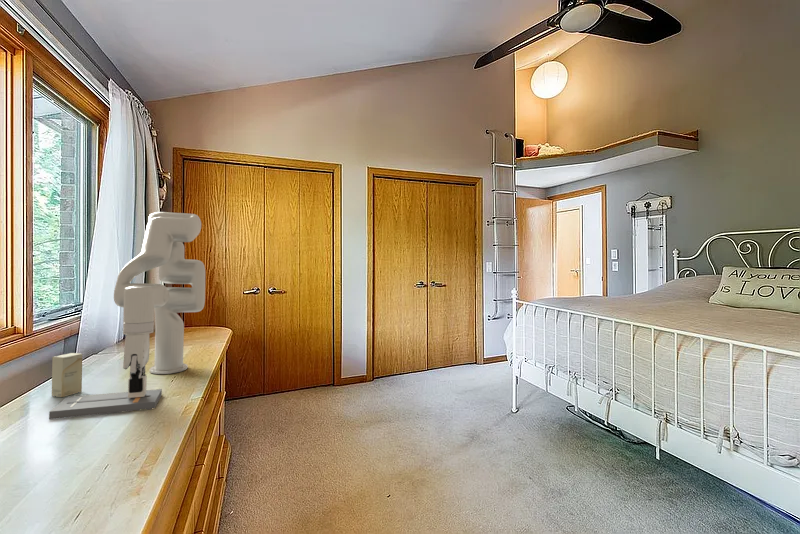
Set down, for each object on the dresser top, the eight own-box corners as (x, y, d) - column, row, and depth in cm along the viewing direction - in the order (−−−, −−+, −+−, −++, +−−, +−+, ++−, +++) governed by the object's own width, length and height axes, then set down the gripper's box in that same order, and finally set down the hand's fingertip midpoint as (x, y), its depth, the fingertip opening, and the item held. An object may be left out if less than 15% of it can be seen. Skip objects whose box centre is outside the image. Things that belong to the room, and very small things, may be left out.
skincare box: (62, 397, 122) (63, 357, 121) (50, 396, 122) (51, 356, 122) (82, 391, 128) (83, 353, 128) (71, 390, 129) (71, 352, 128)
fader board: (66, 403, 117) (66, 396, 117) (161, 395, 126) (161, 388, 126) (49, 419, 106) (49, 411, 106) (154, 408, 115) (154, 401, 115)
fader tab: (130, 394, 119) (130, 376, 119) (146, 393, 121) (146, 375, 121) (128, 398, 116) (128, 379, 116) (144, 396, 118) (144, 378, 118)
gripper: (130, 323, 124) (129, 383, 125) (115, 333, 109) (114, 400, 110) (158, 323, 127) (157, 381, 128) (147, 332, 112) (146, 397, 112)
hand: (137, 389), depth 119 cm, fingers closed on fader tab, 3 cm apart
